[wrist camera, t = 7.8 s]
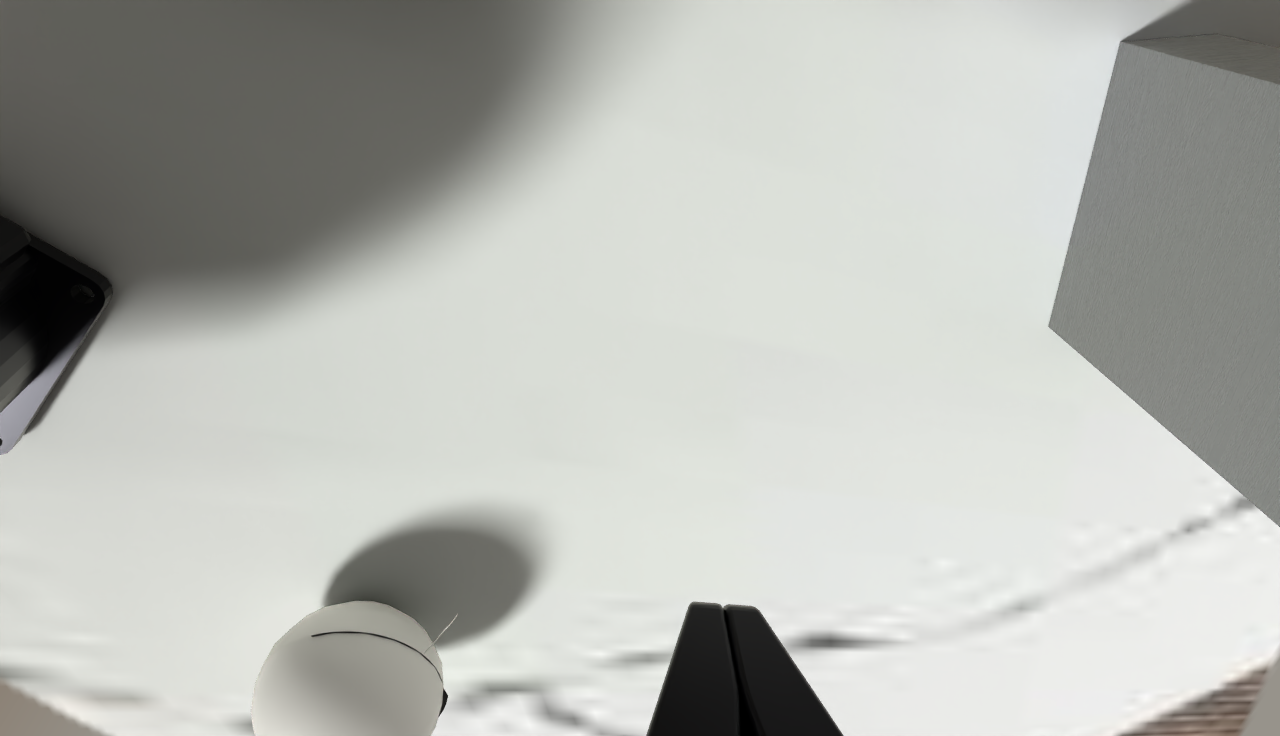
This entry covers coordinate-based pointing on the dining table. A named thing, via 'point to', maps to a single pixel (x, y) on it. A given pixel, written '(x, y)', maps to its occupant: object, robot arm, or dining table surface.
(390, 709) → the seamed sphere
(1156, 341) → the gray bookend
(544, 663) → the dining table surface
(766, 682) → the robot arm
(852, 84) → the dining table surface
